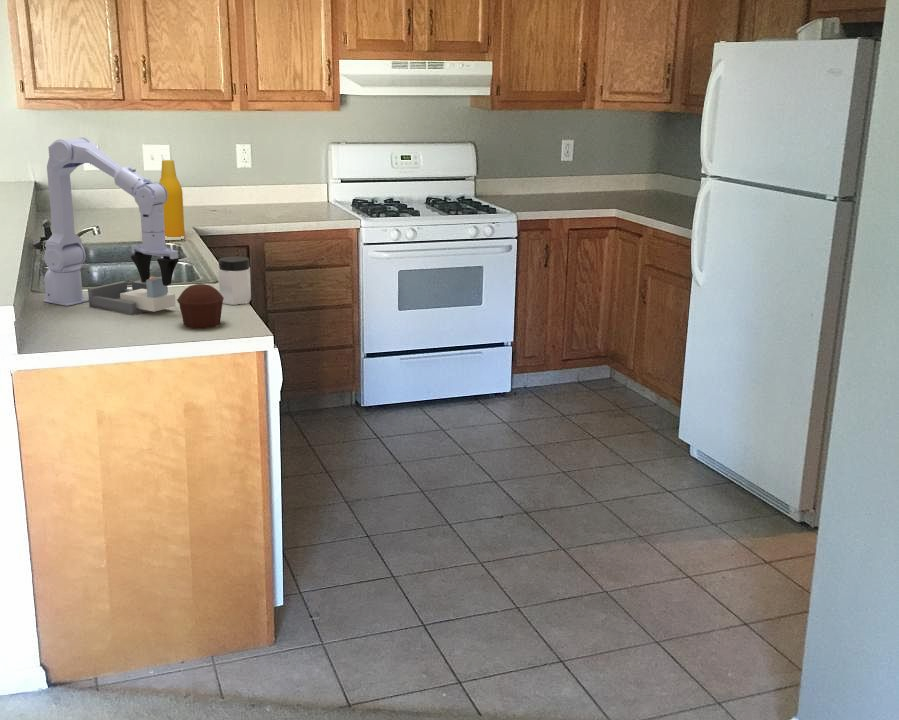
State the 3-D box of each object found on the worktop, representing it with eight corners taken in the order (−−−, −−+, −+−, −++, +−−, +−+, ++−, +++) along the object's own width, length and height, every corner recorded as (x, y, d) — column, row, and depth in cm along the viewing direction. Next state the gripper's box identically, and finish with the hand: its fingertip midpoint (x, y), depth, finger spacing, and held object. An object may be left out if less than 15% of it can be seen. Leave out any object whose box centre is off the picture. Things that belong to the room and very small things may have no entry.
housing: (89, 307, 259) (87, 288, 258) (143, 294, 275) (142, 276, 274) (132, 315, 252) (131, 296, 250) (186, 301, 268) (185, 283, 266)
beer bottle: (169, 236, 371) (165, 158, 362) (190, 238, 367) (186, 160, 359) (154, 239, 362) (149, 160, 354) (175, 241, 359) (170, 162, 351)
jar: (223, 297, 273) (221, 255, 270) (252, 298, 274) (251, 256, 270) (217, 305, 265) (215, 261, 261) (247, 305, 265) (246, 262, 262)
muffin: (183, 318, 250) (181, 280, 247) (227, 318, 250) (226, 280, 248) (174, 330, 238) (172, 290, 235) (220, 330, 239) (218, 290, 236)
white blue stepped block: (120, 305, 256) (118, 276, 254) (142, 300, 262) (140, 272, 260) (154, 311, 250) (152, 282, 248) (175, 306, 257) (174, 277, 255)
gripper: (120, 230, 249) (124, 282, 253) (162, 236, 242) (165, 289, 246) (141, 226, 255) (144, 277, 259) (182, 232, 248) (185, 284, 252)
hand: (156, 283), depth 253 cm, fingers open, 7 cm apart
